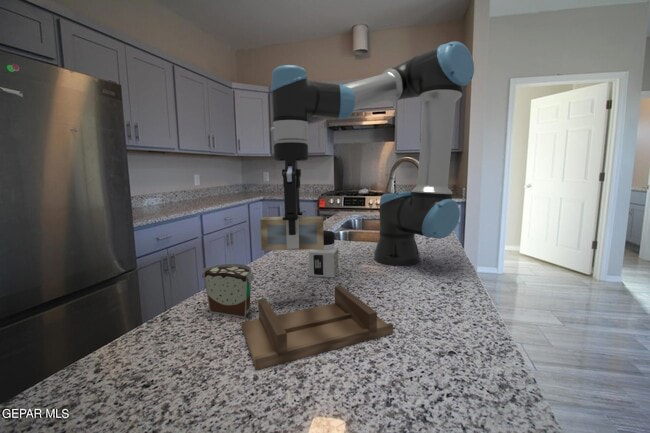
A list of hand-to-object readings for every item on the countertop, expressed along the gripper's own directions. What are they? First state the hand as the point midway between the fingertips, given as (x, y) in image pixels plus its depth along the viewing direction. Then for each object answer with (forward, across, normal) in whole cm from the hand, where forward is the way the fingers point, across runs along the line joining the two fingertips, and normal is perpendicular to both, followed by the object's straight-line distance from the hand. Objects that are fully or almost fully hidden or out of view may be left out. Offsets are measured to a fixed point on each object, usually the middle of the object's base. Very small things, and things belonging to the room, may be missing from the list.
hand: (293, 245), depth 72 cm
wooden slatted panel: (+14, +13, +5) cm, 20 cm away
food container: (+14, +3, -14) cm, 20 cm away
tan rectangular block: (0, 0, 0) cm, 0 cm away
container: (+14, -20, +7) cm, 26 cm away
